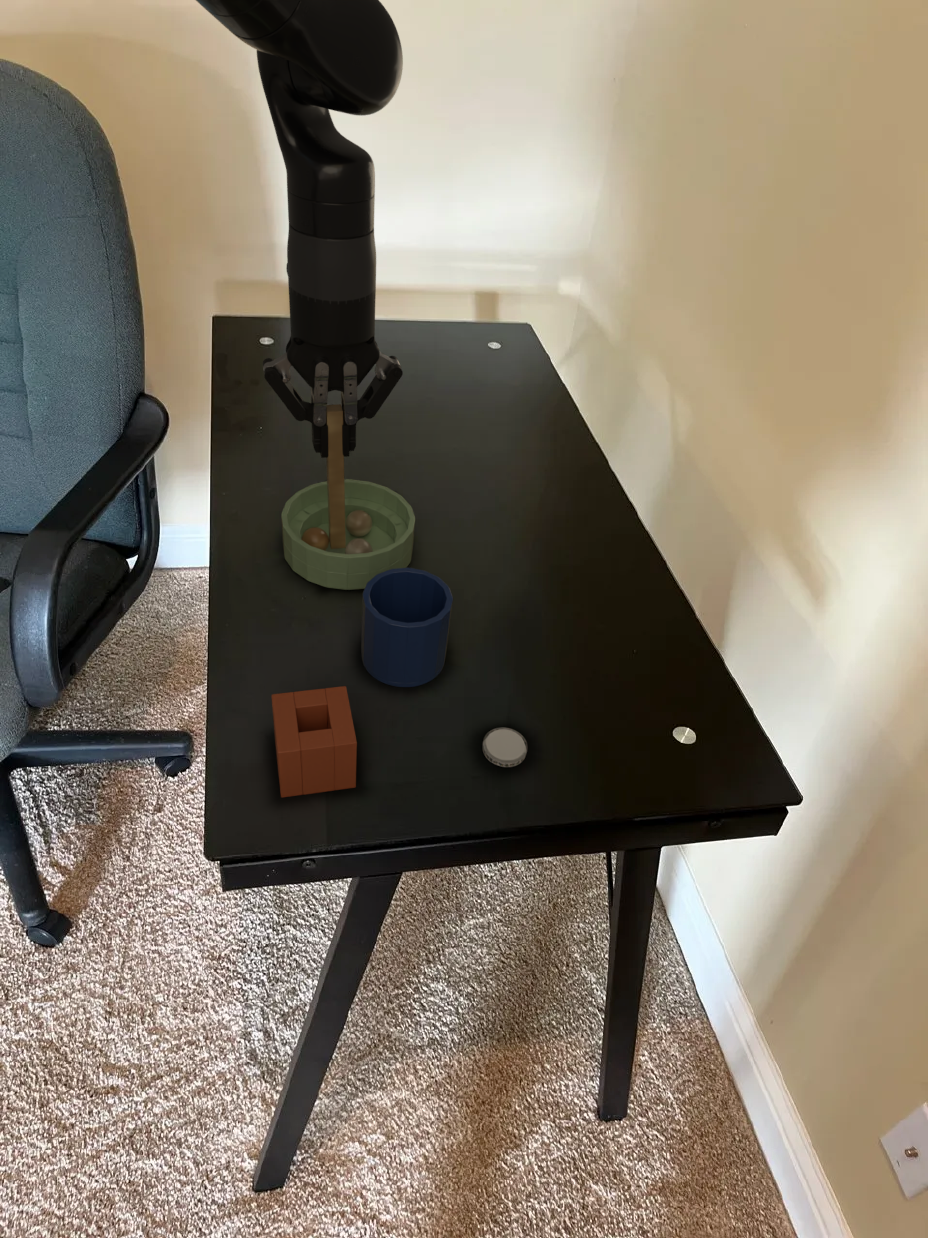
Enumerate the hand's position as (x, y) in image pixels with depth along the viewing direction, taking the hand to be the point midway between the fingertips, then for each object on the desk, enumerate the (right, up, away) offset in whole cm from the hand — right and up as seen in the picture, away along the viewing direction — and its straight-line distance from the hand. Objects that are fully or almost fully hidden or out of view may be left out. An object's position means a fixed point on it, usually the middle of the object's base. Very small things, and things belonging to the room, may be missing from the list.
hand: (334, 452), depth 83 cm
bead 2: (+1, -6, +10) cm, 12 cm away
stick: (-1, -9, +7) cm, 11 cm away
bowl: (0, -9, +9) cm, 13 cm away
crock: (+7, -21, -2) cm, 22 cm away
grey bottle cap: (+17, -29, -9) cm, 34 cm away
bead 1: (-3, -8, +7) cm, 11 cm away
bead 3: (+2, -10, +6) cm, 12 cm away
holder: (0, -29, -12) cm, 32 cm away
